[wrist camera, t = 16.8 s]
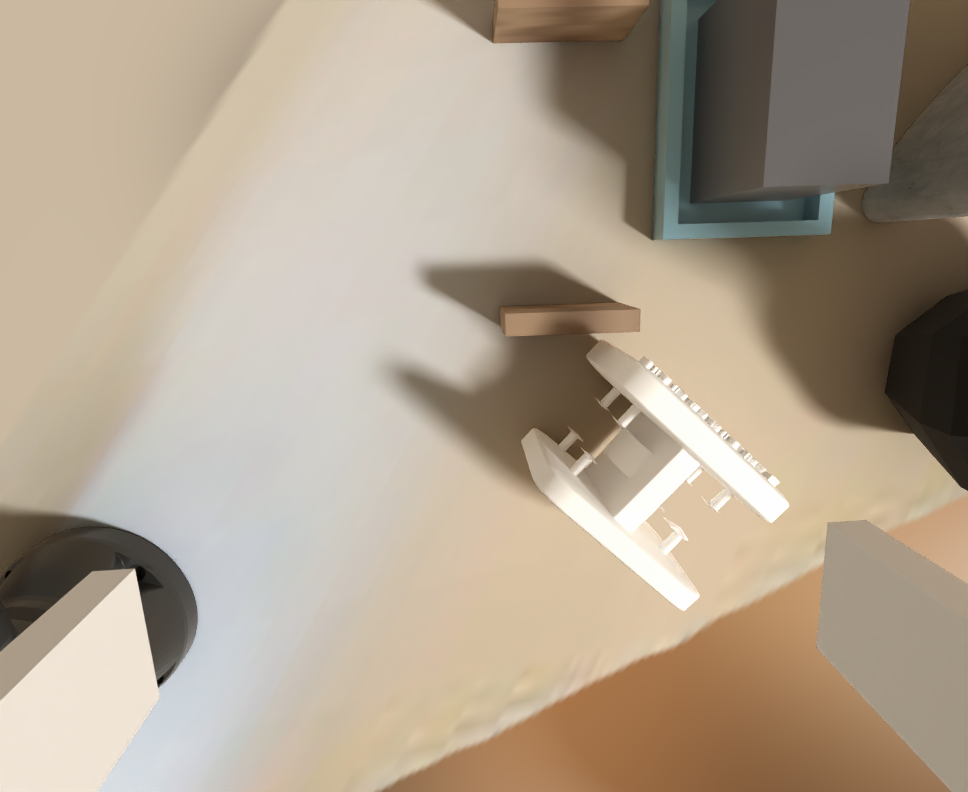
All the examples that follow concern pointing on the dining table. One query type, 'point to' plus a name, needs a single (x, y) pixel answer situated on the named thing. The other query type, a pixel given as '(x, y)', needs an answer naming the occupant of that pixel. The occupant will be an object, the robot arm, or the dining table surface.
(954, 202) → the hip flask
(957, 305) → the bottle
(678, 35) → the teal tray
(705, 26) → the grey rectangular block
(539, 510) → the dining table surface
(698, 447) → the cable organizer
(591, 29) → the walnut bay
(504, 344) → the dining table surface
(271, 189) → the dining table surface
